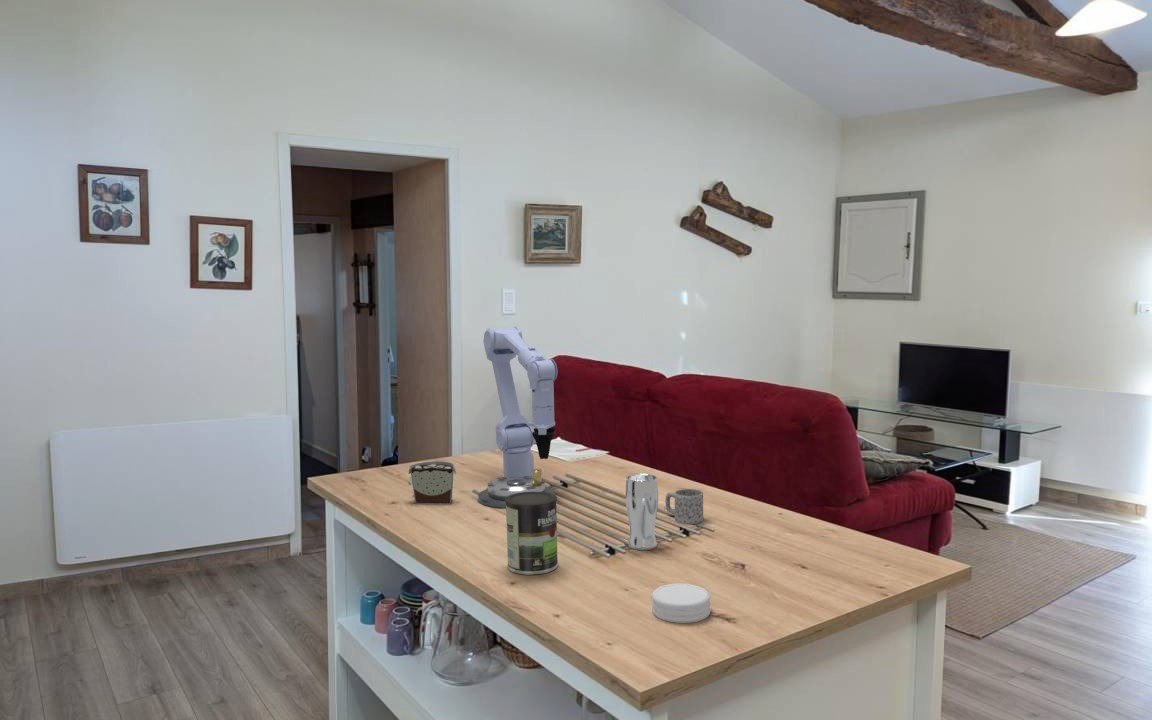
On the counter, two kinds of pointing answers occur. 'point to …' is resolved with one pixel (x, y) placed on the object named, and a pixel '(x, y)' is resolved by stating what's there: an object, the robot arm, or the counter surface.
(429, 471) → the food container
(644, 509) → the beer glass
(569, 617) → the counter surface
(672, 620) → the white round lid
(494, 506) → the dark grey flat disc
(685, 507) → the mug
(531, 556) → the coffee can
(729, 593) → the counter surface
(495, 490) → the lugged hub disc
